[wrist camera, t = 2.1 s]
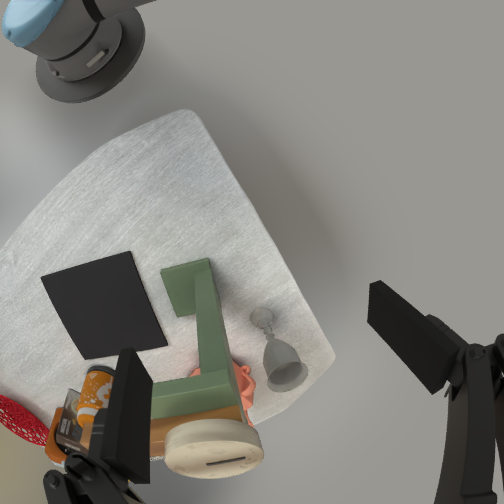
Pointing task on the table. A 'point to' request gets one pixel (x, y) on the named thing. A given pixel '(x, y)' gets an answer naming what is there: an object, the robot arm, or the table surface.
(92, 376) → the canister
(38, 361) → the table surface
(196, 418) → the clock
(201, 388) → the post
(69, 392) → the coffee box
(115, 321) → the black mat
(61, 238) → the table surface
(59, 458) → the alarm clock
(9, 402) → the bowl
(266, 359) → the chalice
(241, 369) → the teapot
